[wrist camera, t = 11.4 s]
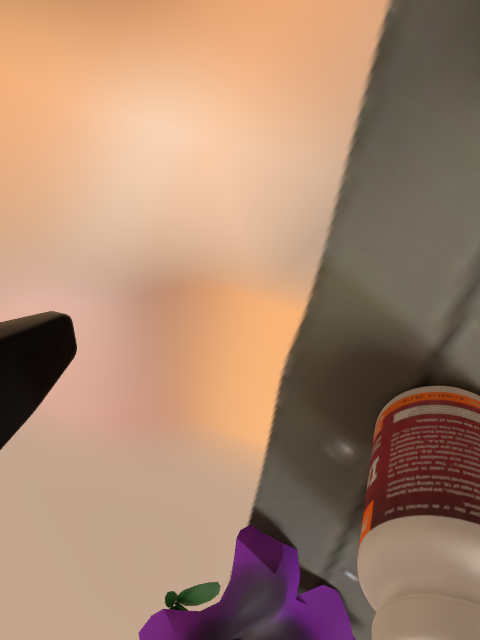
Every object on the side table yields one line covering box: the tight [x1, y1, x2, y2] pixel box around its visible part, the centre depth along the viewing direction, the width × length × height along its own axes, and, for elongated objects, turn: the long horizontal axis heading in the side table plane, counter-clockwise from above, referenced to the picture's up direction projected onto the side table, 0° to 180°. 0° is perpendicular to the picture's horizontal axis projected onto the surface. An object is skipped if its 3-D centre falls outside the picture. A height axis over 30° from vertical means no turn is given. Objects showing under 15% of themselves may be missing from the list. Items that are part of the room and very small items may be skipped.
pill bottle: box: [357, 386, 480, 640], centre depth 17 cm, size 6×6×11 cm
